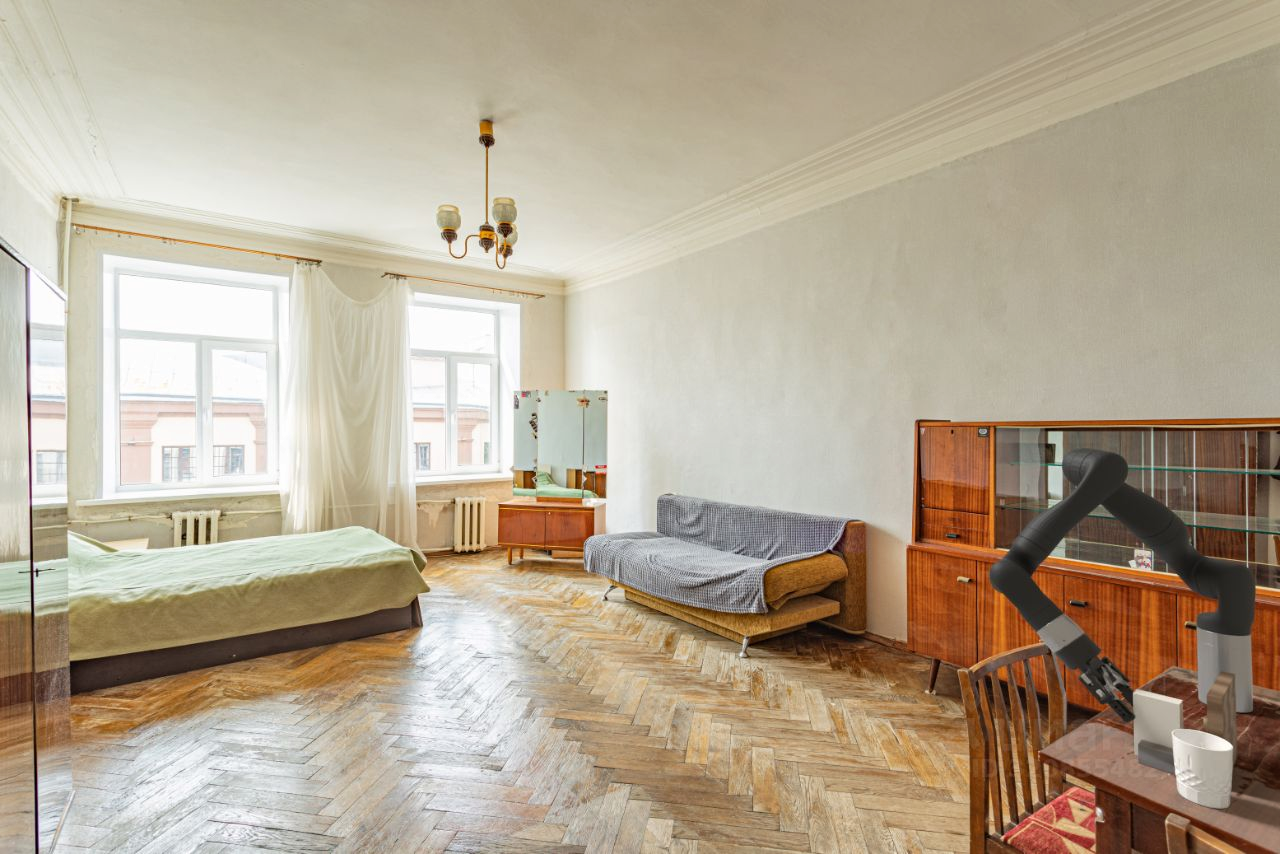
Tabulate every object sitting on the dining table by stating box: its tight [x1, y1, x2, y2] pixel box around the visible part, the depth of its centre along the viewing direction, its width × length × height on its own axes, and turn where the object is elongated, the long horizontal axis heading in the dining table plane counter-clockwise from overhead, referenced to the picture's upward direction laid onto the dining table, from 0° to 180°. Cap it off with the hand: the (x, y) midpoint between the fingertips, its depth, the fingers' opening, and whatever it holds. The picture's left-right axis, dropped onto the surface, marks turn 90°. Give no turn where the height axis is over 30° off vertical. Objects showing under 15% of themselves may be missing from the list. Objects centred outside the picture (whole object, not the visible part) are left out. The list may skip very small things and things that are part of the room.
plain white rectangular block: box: [1132, 688, 1184, 756], centre depth 120 cm, size 3×7×12 cm, turn 40°
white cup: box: [1172, 728, 1234, 810], centre depth 107 cm, size 8×8×10 cm
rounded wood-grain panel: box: [1137, 671, 1238, 775], centre depth 119 cm, size 17×12×16 cm
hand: (1136, 713), depth 122 cm, fingers open, 8 cm apart
